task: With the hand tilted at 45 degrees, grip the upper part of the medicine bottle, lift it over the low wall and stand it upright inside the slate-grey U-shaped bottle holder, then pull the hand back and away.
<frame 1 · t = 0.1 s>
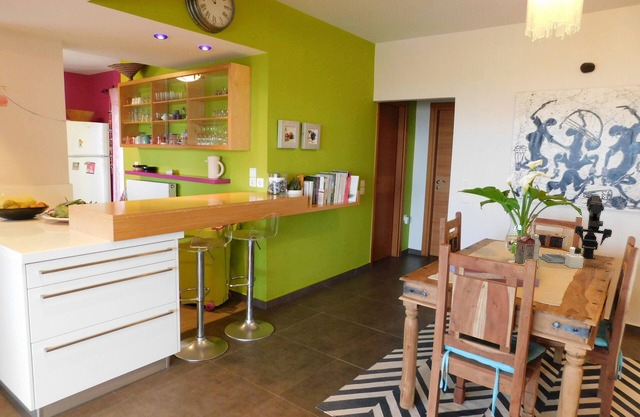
hand: (591, 244, 255), 15 cm above the table, tool tilted 35°, fingers open, 9 cm apart
medicine bottle: (573, 266, 260), on the table
bottle holder: (555, 260, 273), on the table
juice carton: (522, 271, 246), on the table
plastic bottle: (532, 267, 255), on the table
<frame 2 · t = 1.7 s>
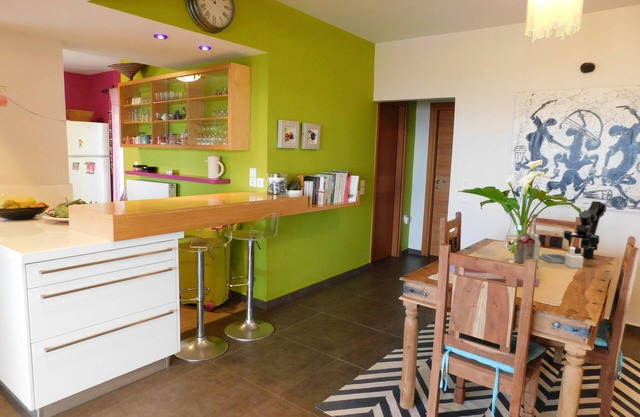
hand: (577, 247, 261), 11 cm above the table, tool tilted 45°, fingers open, 9 cm apart
nothing on the table moved.
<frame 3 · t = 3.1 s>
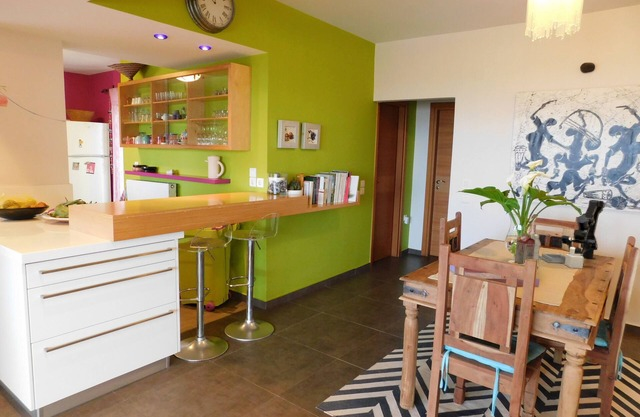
hand: (575, 252, 258), 9 cm above the table, tool tilted 45°, fingers closed on medicine bottle, 6 cm apart
medicine bottle: (573, 266, 260), on the table, touching gripper
everything else where it was.
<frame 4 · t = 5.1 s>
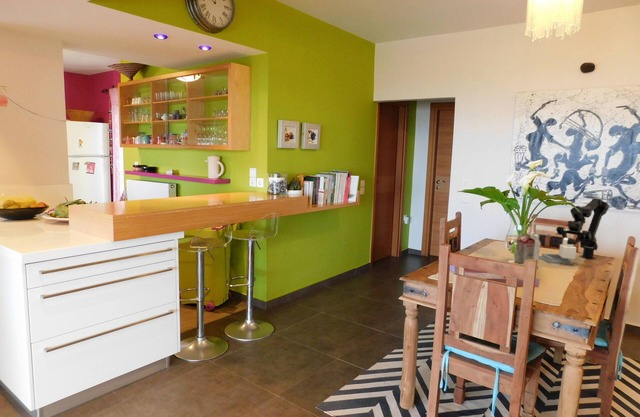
hand: (568, 243, 262), 13 cm above the table, tool tilted 45°, fingers closed on medicine bottle, 6 cm apart
medicine bottle: (566, 257, 264), point 4 cm above the table, touching gripper
everything else where it was.
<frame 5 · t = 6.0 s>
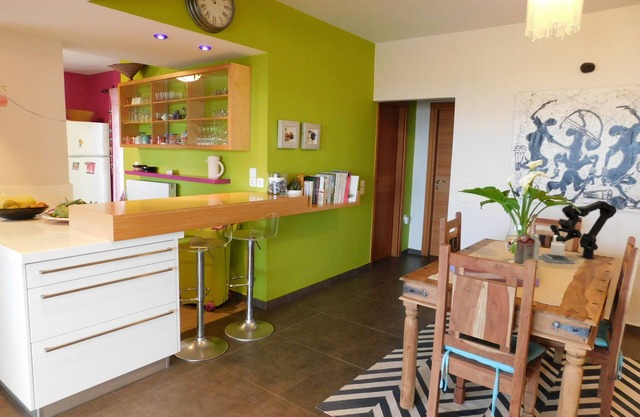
hand: (558, 240, 271), 13 cm above the table, tool tilted 45°, fingers closed on medicine bottle, 6 cm apart
medicine bottle: (556, 254, 272), point 4 cm above the table, touching gripper
everything else where it was.
when the fingers open (10 cm above the table, at t = 7.0 s): medicine bottle stays where it is, resting on bottle holder.
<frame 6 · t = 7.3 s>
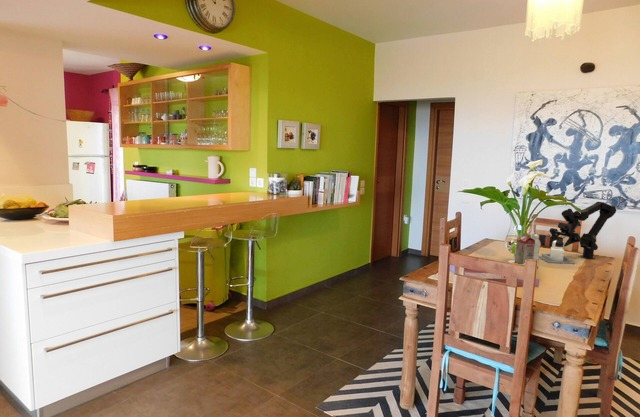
hand: (557, 244, 271), 11 cm above the table, tool tilted 45°, fingers open, 9 cm apart
medicine bottle: (556, 259, 272), point 1 cm above the table, touching bottle holder
everything else where it was.
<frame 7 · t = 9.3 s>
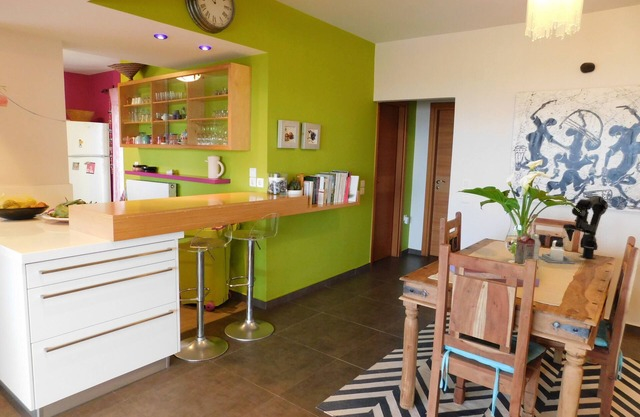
hand: (576, 243, 267), 13 cm above the table, tool tilted 15°, fingers open, 9 cm apart
nothing on the table moved.
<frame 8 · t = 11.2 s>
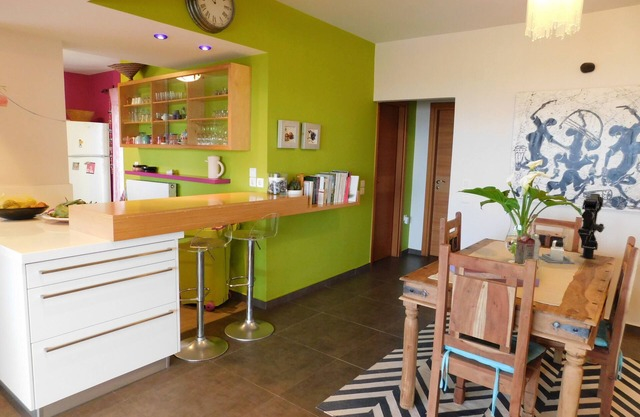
hand: (585, 243, 266), 13 cm above the table, tool pointing down, fingers open, 9 cm apart
nothing on the table moved.
at the end: medicine bottle 0.2 cm off-centre on the bottle holder, point 0.6 cm above the bottle holder's base; medicine bottle tilted 0°; the gripper is holding nothing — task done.
